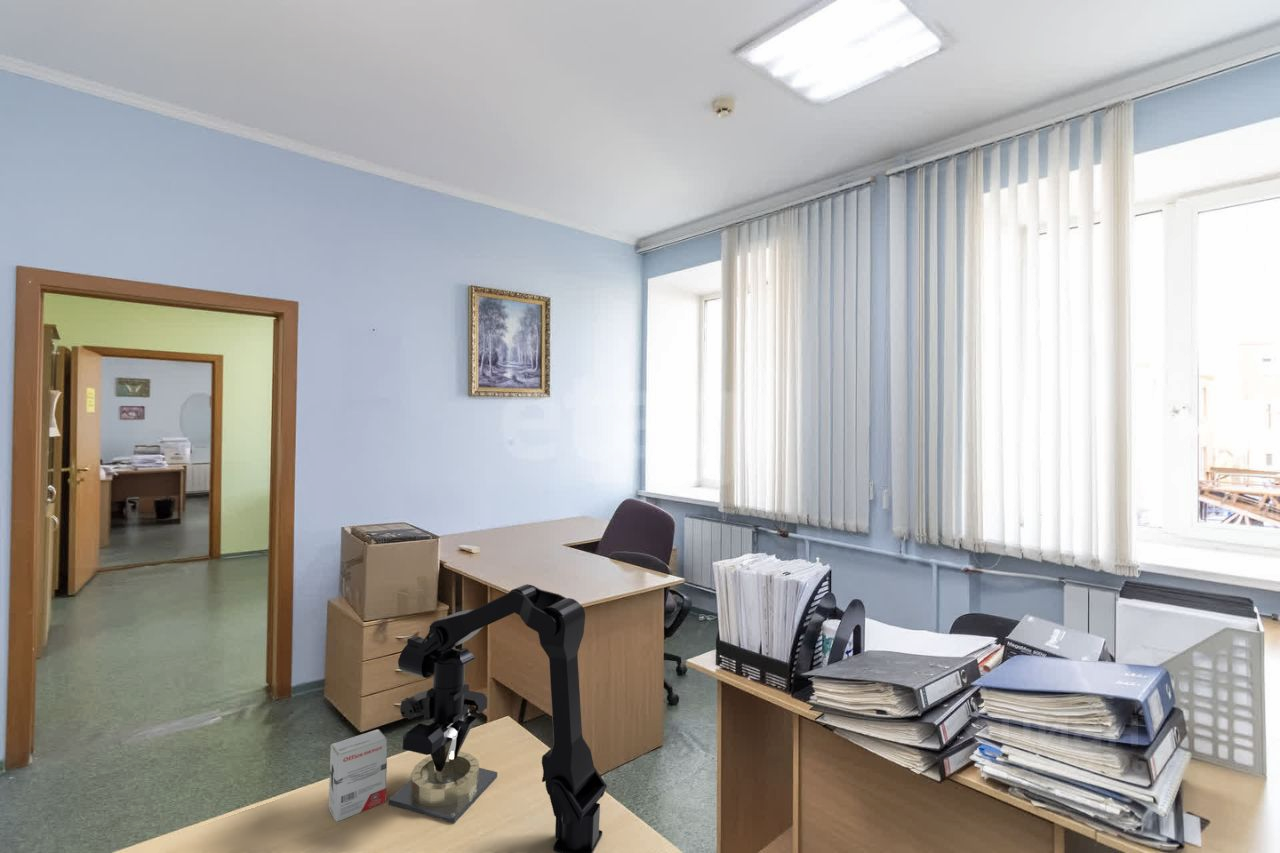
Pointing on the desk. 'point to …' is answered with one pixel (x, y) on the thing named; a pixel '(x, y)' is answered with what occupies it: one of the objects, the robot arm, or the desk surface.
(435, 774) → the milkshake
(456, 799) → the collar station
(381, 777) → the ink box
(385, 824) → the desk surface
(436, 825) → the desk surface
